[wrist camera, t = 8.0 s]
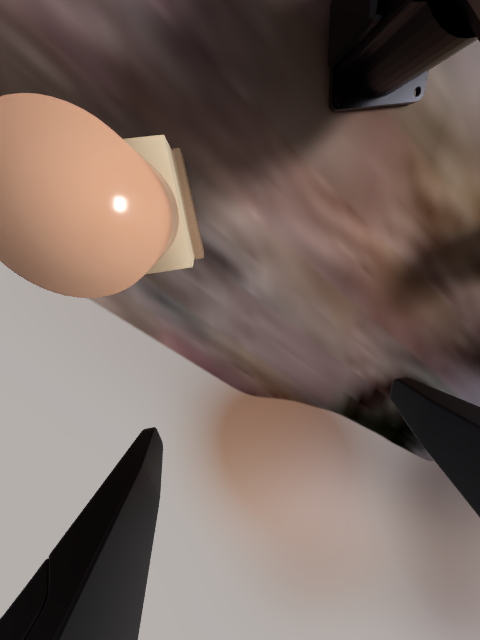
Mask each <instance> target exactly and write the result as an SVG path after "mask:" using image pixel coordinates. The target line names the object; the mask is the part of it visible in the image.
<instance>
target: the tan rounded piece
mask: <svg viewBox="0 0 480 640" xmlns="http://www.w3.org/2000/svg"><path fill="white" fill-rule="evenodd" d="M178 225H179V213H178V207H177V203H176V200H175V197H174V194H173V192H172V190H171V188H170V186H169V185H168V183H167V182H166V180H165V179H164V178H163V176H162V175H161V174H160V173H159V172H158V171H157V170H156V169H155V168H154V167H153V166H152V165H151V164H150V163H149V162H147V161H146V160H145V159H144V158H143V157H142V156H141V155H140V154H139V153H137V152H136V151H135V150H134V149H133V148H132V147H131V146H130V145H129V144H128V143H126V142H125V141H124V140H123V139H122V138H121V137H120V136H119V135H118V134H116V133H115V132H114V131H113V130H112V129H111V128H110V127H108V126H107V125H106V124H105V123H103V122H102V121H101V120H99V119H98V118H97V117H95V116H93V115H92V114H90V113H89V112H87V111H86V110H84V109H82V108H80V107H78V106H76V105H74V104H71V103H69V102H67V101H64V100H61V99H58V98H55V97H51V96H46V95H41V94H34V93H16V94H8V95H4V96H0V261H1V262H2V263H4V264H5V265H6V266H7V267H8V268H10V269H11V270H12V271H14V272H15V273H17V274H18V275H19V276H21V277H23V278H24V279H26V280H28V281H30V282H31V283H33V284H35V285H37V286H40V287H42V288H44V289H47V290H49V291H52V292H55V293H59V294H62V295H66V296H73V297H81V298H95V297H103V296H109V295H112V294H115V293H118V292H121V291H123V290H125V289H127V288H129V287H130V286H132V285H133V284H135V283H136V282H137V281H138V280H139V279H140V278H141V277H143V275H144V274H145V273H146V272H147V271H148V270H149V269H150V268H151V267H152V266H153V265H154V264H155V263H156V262H157V261H158V260H159V259H160V258H161V257H162V256H163V255H164V254H165V253H166V251H167V250H168V249H169V248H170V247H171V245H172V243H173V242H174V240H175V237H176V235H177V231H178Z"/></svg>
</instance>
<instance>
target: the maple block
mask: <svg viewBox="0 0 480 640" xmlns="http://www.w3.org/2000/svg"><path fill="white" fill-rule="evenodd" d="M123 140H124V141H125V142H126V143H128V144H129V145H130V146H131V147H132V148H133V149H134V150H135V151H136V152H137V153H139V154H140V155H141V156H142V157H143V158H144V159H145V160H146V161H147V162H149V163H150V164H151V165H152V166H153V167H154V168H155V169H156V170H157V171H158V172H159V173H160V174H161V175H162V176H163V178H164V179H165V180H166V182H167V183H168V185H169V186H170V188H171V190H172V192H173V194H174V197H175V200H176V203H177V207H178V213H179V225H178V231H177V235H176V237H175V240H174V242H173V243H172V245H171V247H170V248H169V249H168V250H167V251H166V253H165V254H164V255H163V256H162V257H161V258H160V259H159V260H158V261H157V262H156V263H155V264H154V265H153V266H152V267H151V268H150V269H149V270H148V271H147V272H146V273H145V274H151V273H157V272H164V271H170V270H177V269H183V268H190V267H193V262H194V258H195V253H194V248H193V243H192V238H191V233H190V229H189V224H188V219H187V214H186V209H185V204H184V200H183V195H182V190H181V185H180V180H179V175H178V170H177V166H176V161H175V156H174V153H173V151H172V149H171V147H170V145H169V143H168V142H167V140H166V138H165V136H164V135H155V136H146V137H137V138H127V139H123Z"/></svg>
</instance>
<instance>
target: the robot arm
mask: <svg viewBox="0 0 480 640" xmlns="http://www.w3.org/2000/svg"><path fill="white" fill-rule="evenodd" d="M477 39H478V40H479V41H480V0H333V1H332V3H331V5H330V22H329V45H328V66H329V68H330V84H329V108H330V110H331V111H333V112H339V111H349V110H359V109H368V108H378V107H388V106H397V105H407V104H413V103H415V102H417V101H419V100H420V99H421V98H422V96H423V94H424V91H425V86H426V81H427V76H428V70H430V69H431V68H433V67H434V66H436V65H438V64H439V63H441V62H442V61H444V60H446V59H447V58H449V57H450V56H452V55H453V54H455V53H457V52H458V51H460V50H461V49H463V48H465V47H466V46H468V45H469V44H471V43H473V42H474V41H476V40H477ZM415 90H416V96H415V95H414V91H415ZM336 97H338V98H339V101H340V102H339V105H338V104H336V102H335V99H336ZM390 397H391V400H392V402H393V403H394V405H395V406H396V408H397V409H398V411H399V412H400V414H401V415H402V417H403V418H404V420H405V421H406V423H407V424H408V426H409V427H410V429H411V430H412V432H413V433H414V435H415V436H416V437H417V439H418V440H419V442H420V443H421V444H422V445H423V447H424V448H425V449H426V450H427V452H428V453H429V454H430V456H431V457H432V458H433V459H434V461H435V462H436V463H437V464H438V465H439V467H440V468H441V469H442V471H443V472H444V473H445V474H446V476H447V477H448V478H449V479H450V480H451V482H452V483H453V484H454V486H455V487H456V488H457V489H458V491H459V492H460V493H461V494H462V496H463V497H464V498H465V499H466V501H467V502H468V503H469V504H470V506H471V507H472V508H473V509H474V511H475V512H476V513H477V515H478V516H479V517H480V407H478V406H476V405H473V404H471V403H469V402H466V401H464V400H461V399H459V398H456V397H454V396H452V395H449V394H447V393H444V392H442V391H439V390H437V389H435V388H432V387H430V386H427V385H425V384H423V383H420V382H418V381H415V380H413V379H410V378H408V377H401V378H396V379H395V380H394V381H393V384H392V388H391V392H390ZM162 454H163V444H162V440H161V438H160V436H159V433H158V431H157V429H156V428H155V427H153V428H148V429H144V430H143V431H142V432H141V433H140V434H139V436H138V437H137V438H136V440H135V441H134V442H133V444H132V445H131V446H130V448H129V449H128V451H127V452H126V453H125V455H124V456H123V457H122V458H121V460H120V461H119V462H118V464H117V465H116V467H115V468H114V469H113V471H112V472H111V473H110V475H109V476H108V477H107V479H106V480H105V481H104V483H103V484H102V485H101V487H100V488H99V489H98V491H97V492H96V493H95V495H94V496H93V497H92V499H91V500H90V501H89V503H88V504H87V505H86V507H85V508H84V509H83V511H82V512H81V513H80V515H79V516H78V517H77V519H76V520H75V522H74V523H73V524H72V525H71V527H70V528H69V529H68V531H67V532H66V533H65V535H64V536H63V537H62V539H61V540H60V541H59V543H58V544H57V545H56V547H55V548H54V549H53V551H52V552H51V553H50V555H49V559H46V560H45V561H44V563H43V564H42V565H41V567H40V568H39V569H38V571H37V572H36V573H35V575H34V576H33V577H32V579H31V580H30V581H29V583H28V584H27V585H26V587H25V588H24V589H23V590H22V592H21V593H20V594H19V596H18V597H17V598H16V600H15V601H14V602H13V603H12V605H11V606H10V607H9V609H8V610H7V611H6V613H5V614H4V615H3V616H2V617H1V619H0V640H138V634H139V627H140V621H141V614H142V609H143V603H144V596H145V589H146V584H147V577H148V570H149V565H150V558H151V551H152V545H153V539H154V532H155V526H156V520H157V514H158V507H159V500H160V489H161V473H162Z"/></svg>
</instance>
